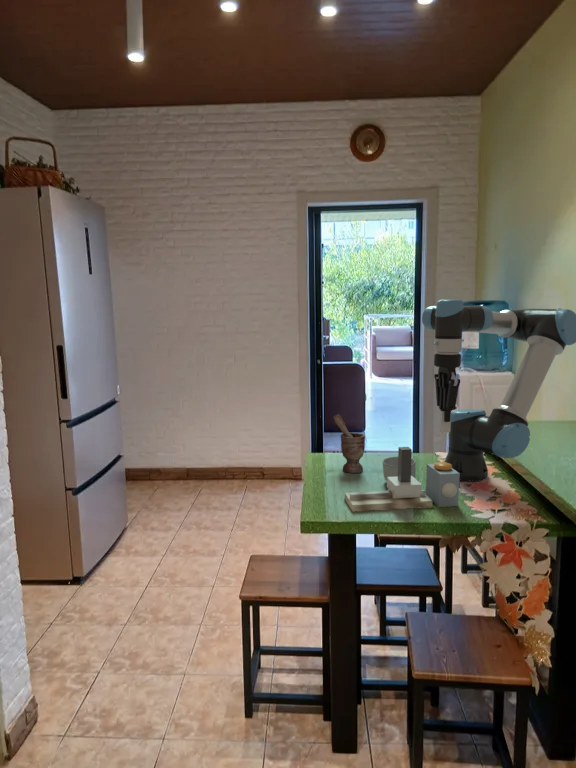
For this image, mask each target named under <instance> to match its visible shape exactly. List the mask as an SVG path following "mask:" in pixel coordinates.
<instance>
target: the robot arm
mask: <svg viewBox="0 0 576 768" xmlns="http://www.w3.org/2000/svg"><path fill="white" fill-rule="evenodd" d="M421 321H422V324H423V326H424V327H425V328H426V329H429V330H433V331H435V332H434V342H433V345H434V352H436V353H435V354H433V357H434V358H433V366H434V367H437V368H438V370H437V373H434V376H433V377H434V381H435V393H436V394H435V396H436V397H435V398H436V405H437V407H438V409H439V412H440V413H439V432H440V433H448V449H447V450H448V451H447V455H446V457H445V458H444V461H443V462H446V463H450V464H451V465H452V468H453V469H454V470H456V471H457V472H458V473H460V476H459V482H460V481H461V482H481V481H485V480H487V479H488V476H489V470H488V467H487V462H486V459H485V455H484V452H485V453H488V454H492V455H495V456H496V457H499V458H507V459H513V458H517V457H519V456H521V455H522V454H523V453H524V452H525V451H526V449H527V448H528V447H529V443H530V441H531V438H530V436H531V430H530V428H529V427H528V426H529V421H528V420H527V416H528V414H529V413H530V410H531V408H532V406H533V404H534V401H535V400H536V397H537V395H538V393H539V391H540V389H541V387H542V386H543V385H542V384H543V382H544V380H545V379H546V376H547V374H548V372H549V371H550V368H551V366H552V364H553V362H554V359H555V357H556V356H558V355H561V354H563V352H564V350H565V348H566V346H572V345H574V344H576V312H574V311H573V310H572V309H568V308H567V309H566V308H524V309H523V308H522V309H513V310H512V309H511V310H510V309H504V310H501V311H494V310H493V311H492V310H491V309H490V307H488V306H484V305H464V301H463V300H462V299H439V300H438V301H437V302H436V304H435V305H431V306H427V307H426V308H424V310H423V311H422V315H421ZM465 332H469V333H478V334H481V333H482V334H492V335H493V334H494V335H497V336H498V337H500V338H507V339H513V340H518V341H522V342H526V343H527V344H528V348H527V350H526V352H525V354H524V355H523V358H522V361H521V362H520V364H519V366H518V368H517V370H516V373H515V375H514V377H513V379H512V380H511V383H510V385H509V386H508V389H507V391H506V393H505V395H504V397H503V399H502V401H501V403H500V405H499V406H498V407H495V408H492V411H491V413H490V415H489V416H488V415H487V413H486V410H485V409H482V408H481V409H480V408H467V409H465V408H464V409H456V405H457V399H458V392H459V386H460V384H461V379H459V378H457V371H456V369H457V368H460V367H462V366H461V365H462V355H461V353H462V348H463V346H462V344H463V343H462V342H463V333H465Z"/></svg>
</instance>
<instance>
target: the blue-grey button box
mask: <svg viewBox="0 0 576 768" xmlns="http://www.w3.org/2000/svg"><path fill="white" fill-rule="evenodd" d="M459 476H460V473H458V472H457V471H456V470H454V469H453V468H452V469H451V470H450V471H438V470H437V469H435V468H434V463H427V464H426V477H425V482H426V483H425V491H426V495H427V496H428V497H429V498H430V499H431V500H432V501H433V502H432V503H434V504H435V505H436V506H437V507H438V506H439V508H441V507H440V506H447V507H458V506H459V496H460V495H459V494H460V480H459Z"/></svg>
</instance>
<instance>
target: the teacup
mask: <svg viewBox="0 0 576 768" xmlns="http://www.w3.org/2000/svg"><path fill="white" fill-rule="evenodd" d="M381 462H382V472H383V478H384V480H385V481H386V482H387V477H397V476H398V456H390V457H386V458H384V459H382V461H381ZM416 463H417V461H416V459H414V458H412V457H411V476H413V477H414V478H415V479H416V467H417V466H416Z"/></svg>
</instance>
